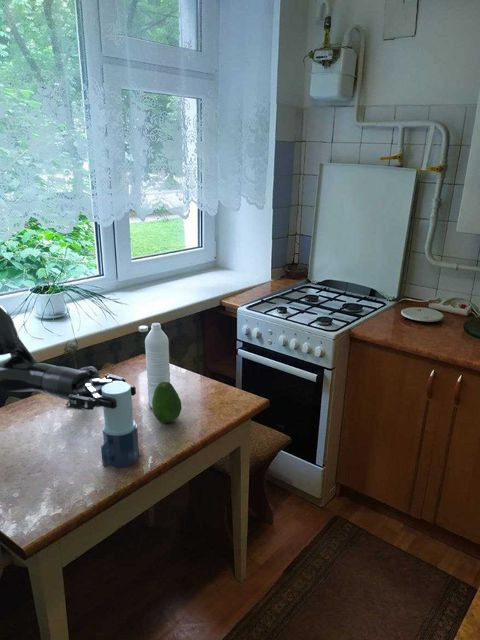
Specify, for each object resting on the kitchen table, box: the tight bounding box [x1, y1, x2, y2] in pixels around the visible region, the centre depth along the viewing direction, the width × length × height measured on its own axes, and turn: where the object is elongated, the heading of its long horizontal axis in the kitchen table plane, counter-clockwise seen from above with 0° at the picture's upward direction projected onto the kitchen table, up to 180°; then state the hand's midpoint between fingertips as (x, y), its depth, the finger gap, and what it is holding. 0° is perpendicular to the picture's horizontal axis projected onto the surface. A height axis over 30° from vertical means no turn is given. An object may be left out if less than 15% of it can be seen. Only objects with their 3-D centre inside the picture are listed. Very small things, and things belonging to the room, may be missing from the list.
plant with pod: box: [62, 340, 102, 407], centre depth 141 cm, size 8×11×20 cm
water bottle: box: [138, 322, 171, 408], centre depth 140 cm, size 9×6×25 cm
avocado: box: [151, 382, 182, 424], centre depth 134 cm, size 8×8×12 cm
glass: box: [101, 381, 137, 436], centre depth 115 cm, size 7×7×10 cm
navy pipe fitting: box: [100, 424, 140, 469], centre depth 117 cm, size 11×8×8 cm
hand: (125, 397), depth 113 cm, fingers open, 6 cm apart
